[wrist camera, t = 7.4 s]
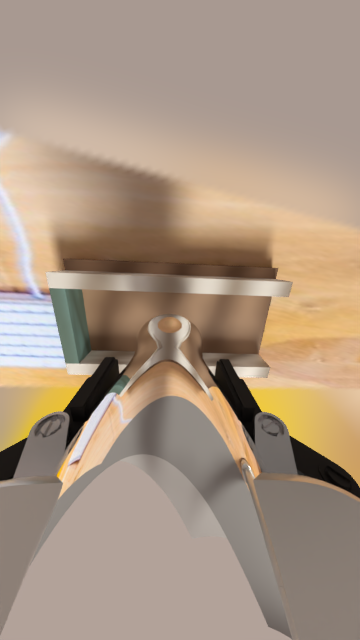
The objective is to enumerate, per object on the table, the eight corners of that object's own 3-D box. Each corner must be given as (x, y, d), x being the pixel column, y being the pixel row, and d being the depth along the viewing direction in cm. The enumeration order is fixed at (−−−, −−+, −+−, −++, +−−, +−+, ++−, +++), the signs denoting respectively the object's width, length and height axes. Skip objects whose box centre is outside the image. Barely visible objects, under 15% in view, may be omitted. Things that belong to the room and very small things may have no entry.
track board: (272, 267, 20) (295, 269, 16) (251, 365, 25) (265, 385, 21) (69, 258, 19) (42, 258, 15) (87, 362, 24) (69, 382, 20)
